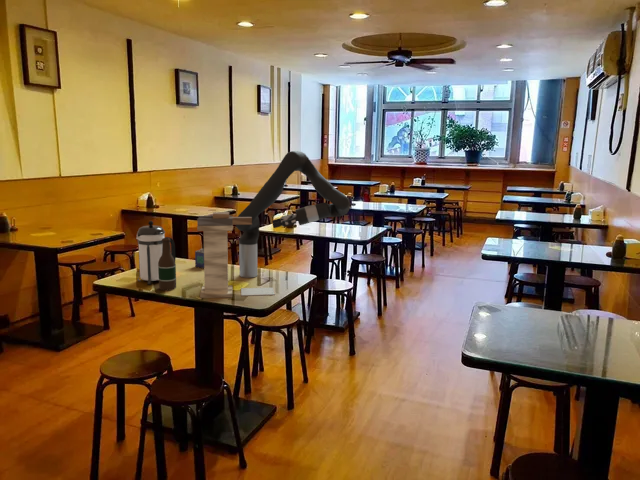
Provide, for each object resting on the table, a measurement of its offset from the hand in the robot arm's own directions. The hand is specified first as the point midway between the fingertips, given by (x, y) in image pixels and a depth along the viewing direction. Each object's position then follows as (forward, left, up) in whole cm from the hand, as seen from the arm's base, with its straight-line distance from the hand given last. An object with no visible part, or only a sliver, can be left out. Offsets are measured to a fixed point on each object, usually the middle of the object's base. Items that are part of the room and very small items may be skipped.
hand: (272, 224), depth 224 cm
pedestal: (-1, -25, -32) cm, 41 cm away
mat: (-1, -7, -32) cm, 33 cm away
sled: (-1, -18, 0) cm, 18 cm away
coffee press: (-26, -56, -32) cm, 70 cm away
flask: (-51, -35, -32) cm, 70 cm away
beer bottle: (-11, -48, -32) cm, 59 cm away
